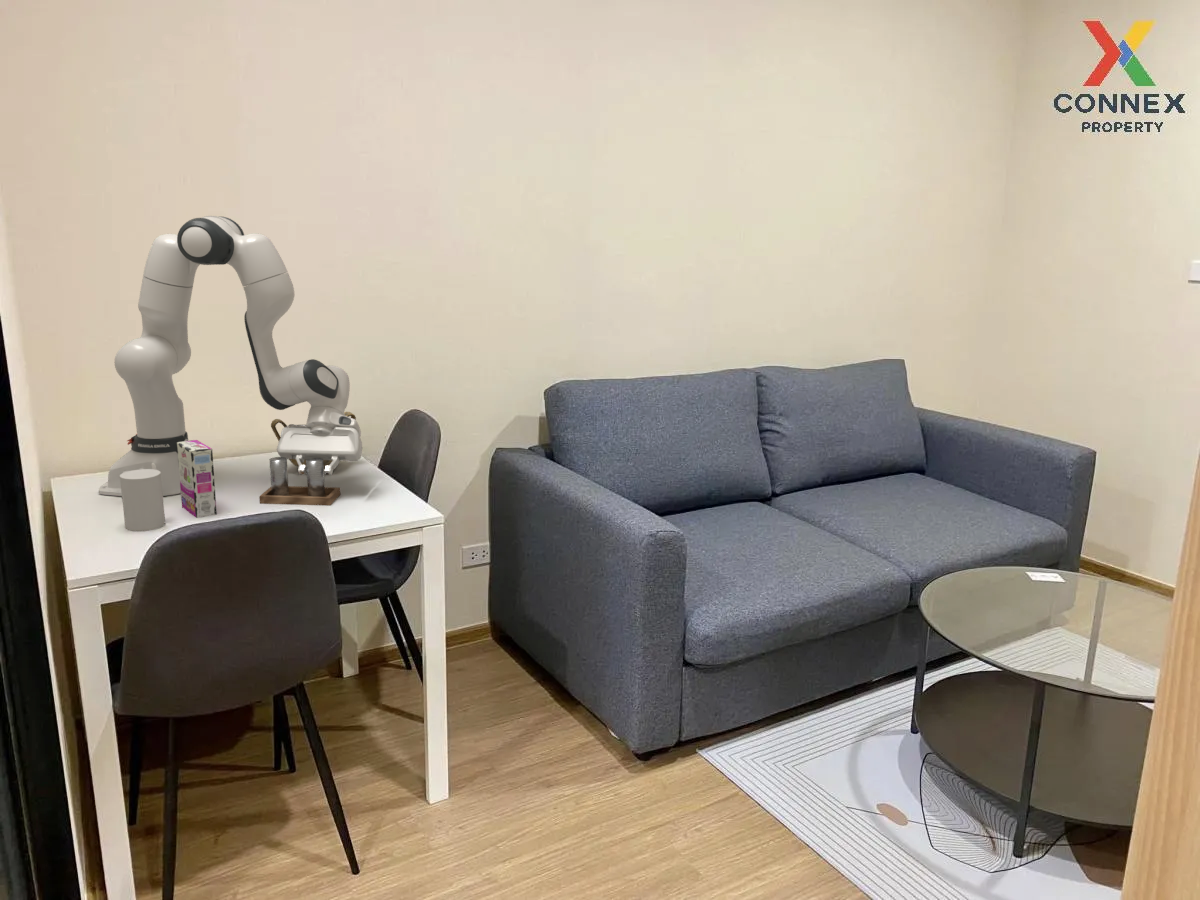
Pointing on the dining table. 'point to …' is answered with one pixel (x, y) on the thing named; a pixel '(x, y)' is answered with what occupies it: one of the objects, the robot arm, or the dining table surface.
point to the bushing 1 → (279, 476)
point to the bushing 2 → (315, 477)
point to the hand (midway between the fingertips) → (314, 473)
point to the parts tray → (300, 497)
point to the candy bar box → (197, 478)
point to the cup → (142, 499)
